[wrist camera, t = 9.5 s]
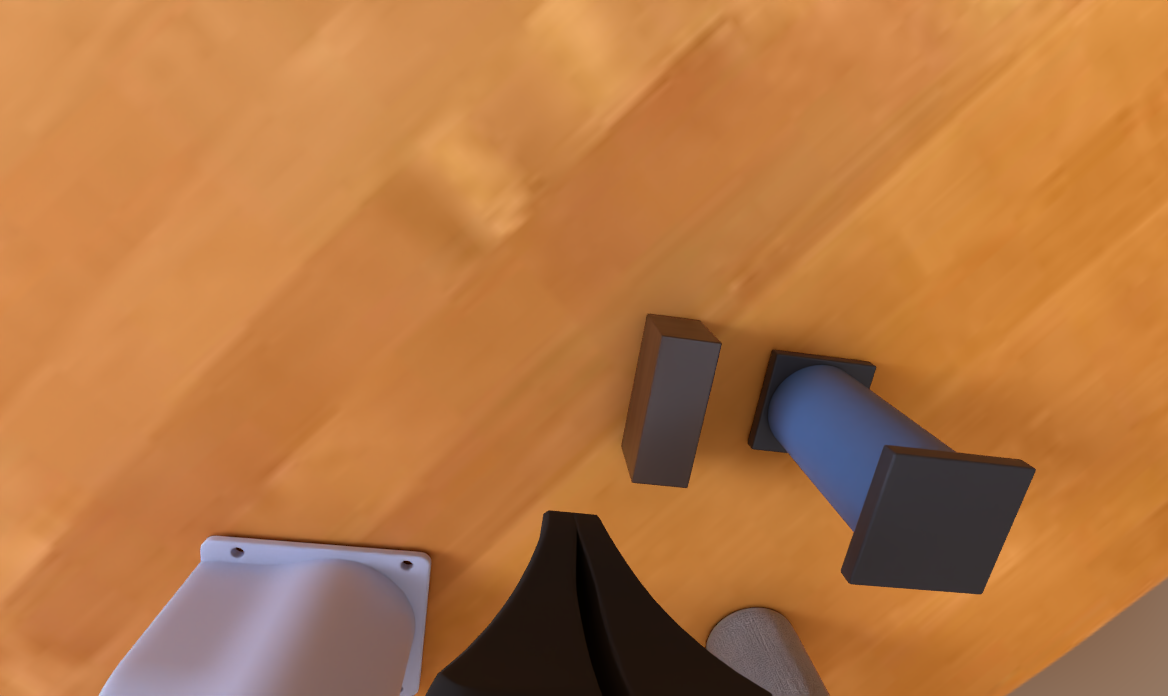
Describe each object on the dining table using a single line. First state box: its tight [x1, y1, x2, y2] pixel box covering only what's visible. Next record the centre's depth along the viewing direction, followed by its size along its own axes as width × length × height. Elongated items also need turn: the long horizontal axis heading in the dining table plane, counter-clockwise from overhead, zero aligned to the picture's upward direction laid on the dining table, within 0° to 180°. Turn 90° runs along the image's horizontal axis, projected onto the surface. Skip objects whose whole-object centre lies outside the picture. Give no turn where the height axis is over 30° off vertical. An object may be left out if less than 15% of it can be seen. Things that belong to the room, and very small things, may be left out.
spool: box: [748, 350, 1036, 594], centre depth 22 cm, size 10×4×9 cm
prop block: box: [621, 314, 722, 488], centre depth 24 cm, size 2×6×3 cm, turn 171°
